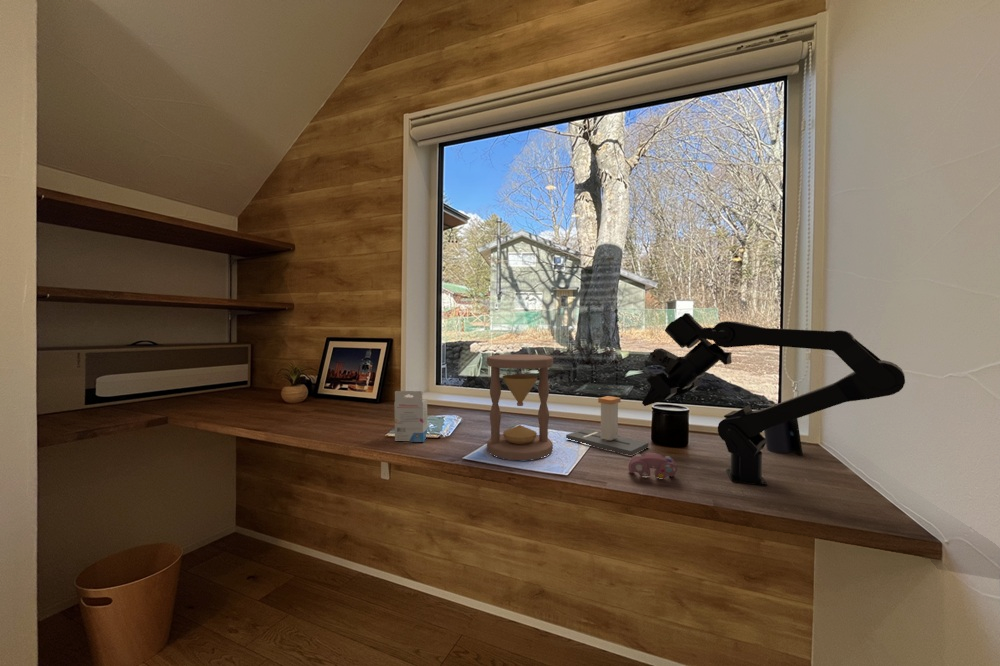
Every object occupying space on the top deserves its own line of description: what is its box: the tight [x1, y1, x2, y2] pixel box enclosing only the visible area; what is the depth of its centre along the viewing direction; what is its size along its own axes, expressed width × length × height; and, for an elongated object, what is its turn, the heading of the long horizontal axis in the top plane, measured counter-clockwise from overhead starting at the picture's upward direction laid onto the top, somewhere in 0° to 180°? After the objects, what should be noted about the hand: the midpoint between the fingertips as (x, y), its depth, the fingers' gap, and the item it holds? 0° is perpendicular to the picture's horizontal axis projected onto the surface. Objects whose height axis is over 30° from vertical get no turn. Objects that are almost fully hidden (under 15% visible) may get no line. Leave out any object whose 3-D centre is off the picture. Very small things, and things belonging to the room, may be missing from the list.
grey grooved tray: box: [565, 427, 650, 455], centre depth 108 cm, size 20×10×2 cm, turn 44°
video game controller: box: [628, 452, 678, 479], centre depth 84 cm, size 10×5×7 cm, turn 76°
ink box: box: [393, 390, 428, 443], centre depth 111 cm, size 8×5×15 cm, turn 85°
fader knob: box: [597, 395, 622, 441], centre depth 107 cm, size 4×5×11 cm
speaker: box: [763, 418, 804, 457], centre depth 102 cm, size 8×6×10 cm
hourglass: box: [486, 353, 554, 461], centre depth 102 cm, size 18×18×25 cm
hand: (650, 402), depth 99 cm, fingers open, 7 cm apart
